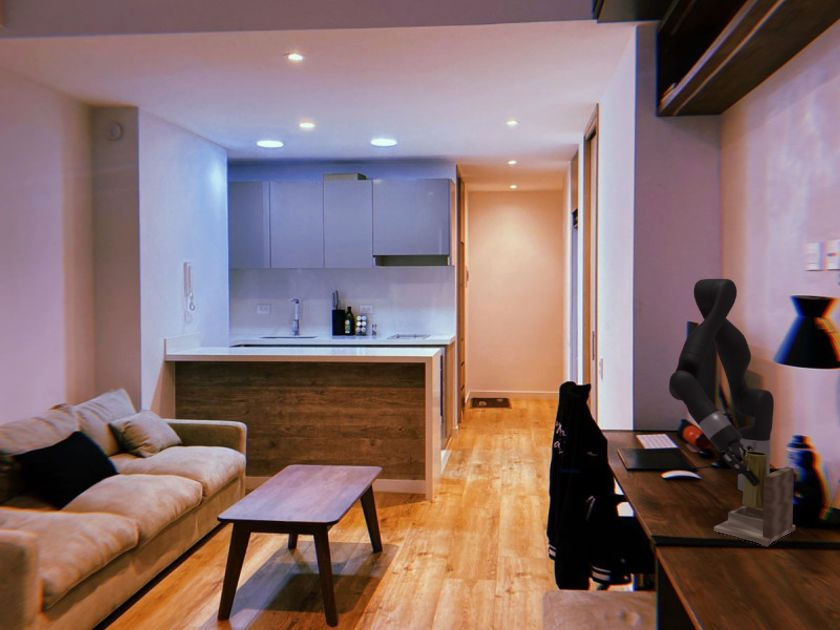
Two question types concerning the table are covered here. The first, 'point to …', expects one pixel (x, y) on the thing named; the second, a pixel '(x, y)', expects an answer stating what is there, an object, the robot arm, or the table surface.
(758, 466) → the vase
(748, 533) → the post stand
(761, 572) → the table surface
